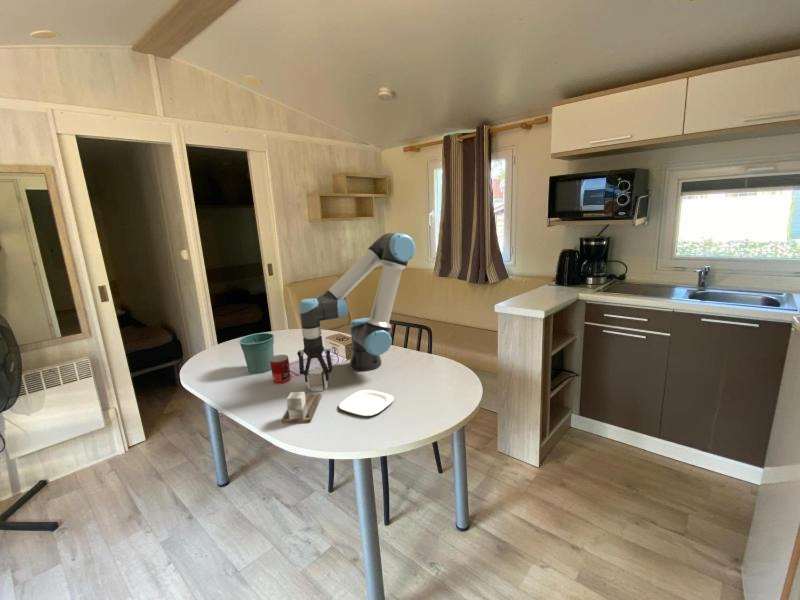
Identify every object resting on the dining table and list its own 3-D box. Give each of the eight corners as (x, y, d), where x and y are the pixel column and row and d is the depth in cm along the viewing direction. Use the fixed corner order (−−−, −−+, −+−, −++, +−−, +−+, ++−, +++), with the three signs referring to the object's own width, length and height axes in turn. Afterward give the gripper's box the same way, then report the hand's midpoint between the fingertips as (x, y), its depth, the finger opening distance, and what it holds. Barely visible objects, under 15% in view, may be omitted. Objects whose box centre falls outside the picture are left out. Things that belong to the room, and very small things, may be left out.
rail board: (322, 396, 153) (319, 375, 151) (310, 422, 133) (307, 398, 131) (297, 397, 153) (295, 376, 151) (282, 423, 134) (279, 399, 132)
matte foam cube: (311, 391, 157) (309, 374, 156) (313, 386, 162) (311, 369, 161) (324, 391, 157) (322, 373, 156) (326, 385, 162) (324, 368, 160)
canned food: (286, 384, 166) (282, 360, 164) (269, 383, 168) (266, 360, 166) (294, 377, 174) (291, 354, 171) (278, 376, 175) (275, 354, 173)
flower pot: (264, 377, 175) (259, 344, 172) (236, 374, 181) (230, 342, 177) (285, 363, 191) (281, 333, 187) (258, 361, 196) (254, 332, 192)
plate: (371, 422, 132) (371, 417, 131) (333, 410, 141) (332, 406, 141) (399, 400, 147) (399, 396, 146) (362, 391, 156) (362, 387, 156)
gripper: (336, 332, 158) (342, 383, 163) (291, 334, 159) (298, 385, 164) (333, 337, 151) (339, 391, 156) (286, 340, 151) (293, 393, 156)
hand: (318, 388), depth 160 cm, fingers open, 6 cm apart
